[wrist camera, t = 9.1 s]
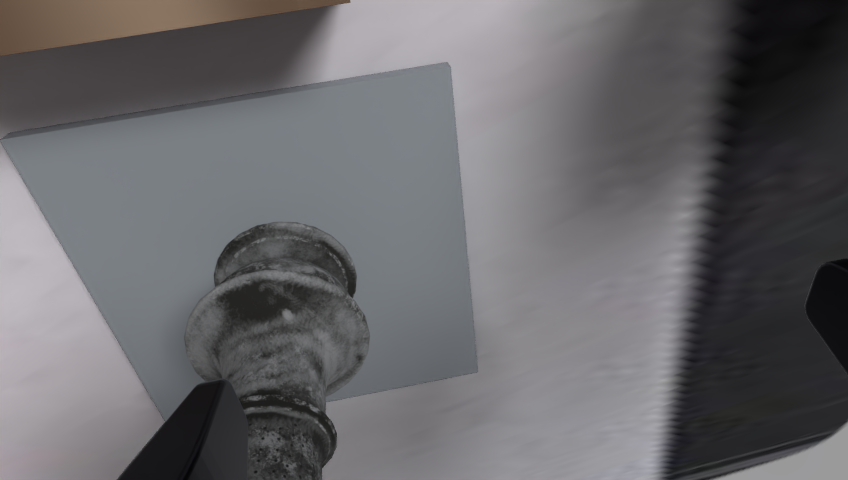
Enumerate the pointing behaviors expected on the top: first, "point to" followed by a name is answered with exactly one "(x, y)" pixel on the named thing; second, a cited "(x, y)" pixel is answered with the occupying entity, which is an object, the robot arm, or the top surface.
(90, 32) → the brown wooden u-shaped frame
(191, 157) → the slate mat
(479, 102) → the top surface
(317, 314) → the grey tall turned piece
